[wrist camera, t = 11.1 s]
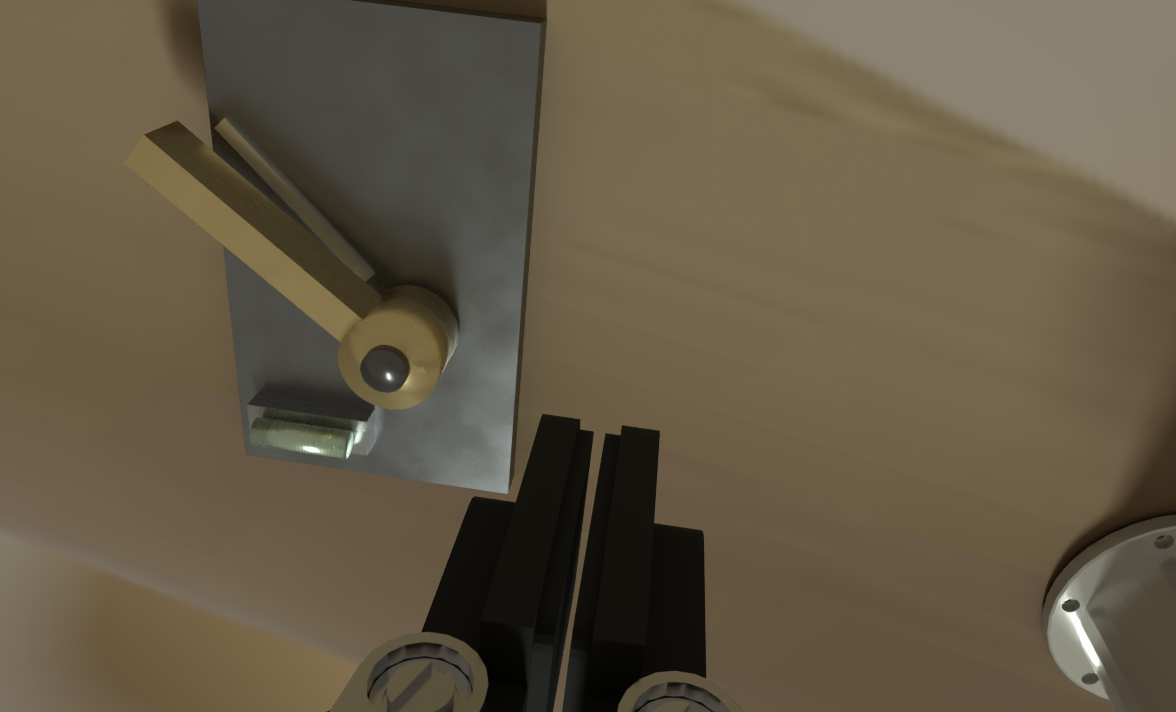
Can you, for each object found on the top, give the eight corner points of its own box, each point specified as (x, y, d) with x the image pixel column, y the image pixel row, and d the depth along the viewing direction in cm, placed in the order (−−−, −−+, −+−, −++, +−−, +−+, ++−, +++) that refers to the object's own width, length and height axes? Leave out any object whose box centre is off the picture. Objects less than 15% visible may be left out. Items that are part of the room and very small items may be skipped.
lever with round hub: (206, 91, 36) (148, 113, 32) (477, 330, 40) (454, 374, 36) (154, 164, 38) (95, 193, 34) (419, 386, 42) (392, 434, 38)
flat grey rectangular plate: (546, 19, 35) (529, 32, 31) (513, 477, 46) (497, 525, 42) (213, -22, 36) (159, -14, 32) (258, 439, 46) (221, 484, 43)
